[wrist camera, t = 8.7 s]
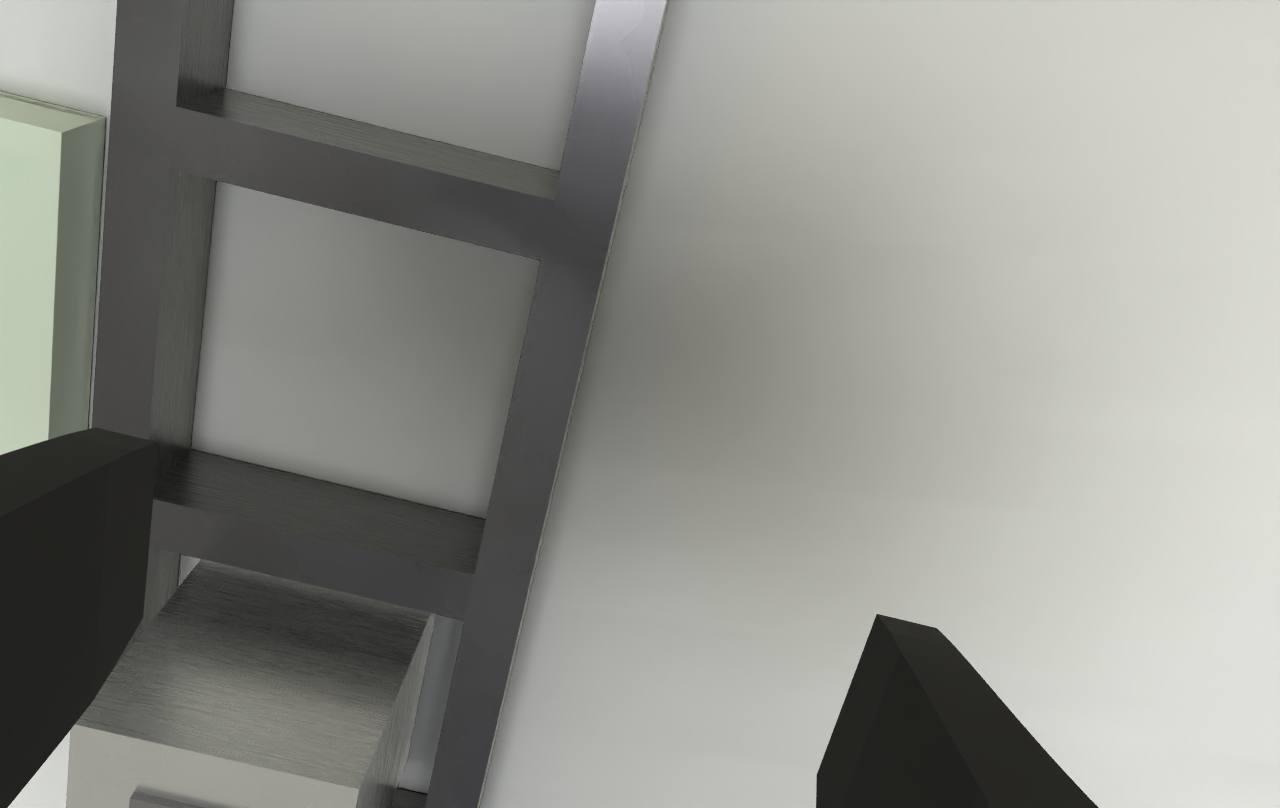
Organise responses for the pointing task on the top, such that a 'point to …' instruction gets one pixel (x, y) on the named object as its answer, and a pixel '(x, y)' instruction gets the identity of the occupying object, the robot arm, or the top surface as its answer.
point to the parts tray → (47, 267)
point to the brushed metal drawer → (255, 700)
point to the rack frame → (386, 191)
